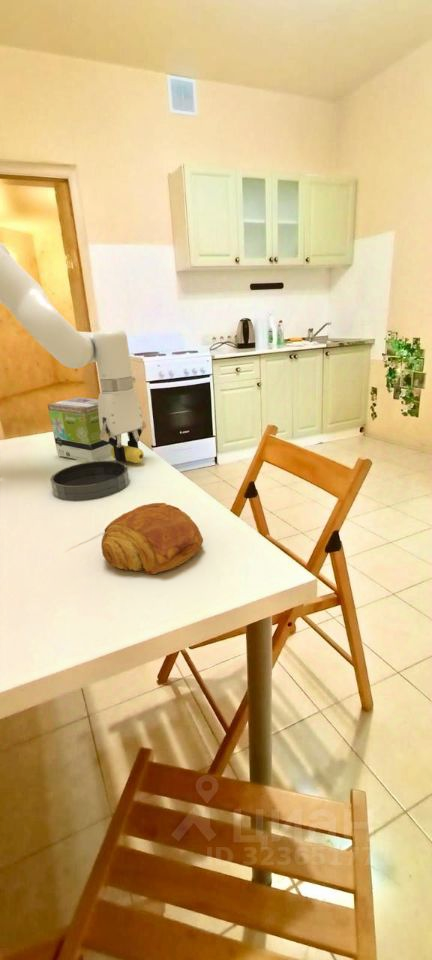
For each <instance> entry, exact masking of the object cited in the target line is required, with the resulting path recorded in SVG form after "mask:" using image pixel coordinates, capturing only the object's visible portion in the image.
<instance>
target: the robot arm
mask: <svg viewBox="0 0 432 960" xmlns="http://www.w3.org/2000/svg"><path fill="white" fill-rule="evenodd" d="M0 303H1V305H3V306H4V307H5V308H6V309H7V310H8V311H9V312H10V313H11V314H12V315H13V316H14V318H15V319H16V320H17V322H19V323H20V324H21V326H22V327H24V328H25V330H26V332H27V333H29V334H30V335H31V337H32V338H34V340H35V341H36V342H37V343H38V344H39V345H40V346H41V347H42V348H43V349H44V350H46V351H47V352H48V353H49V355H51V356H52V357H53V358H54V359H55V360H56V361H58V362H59V363H60V364H61V365H63V366H65V367H67V368H69V369H77V370H78V369H81V368H84V367H85V366H86V365H89V364H93V363H96V365H97V371H98V379H99V385H100V391H101V392H100V393H99V392H98V397H97V399H98V413H99V424H100V430H101V433H100V437H99V438H100V439H101V440H104V441H106V442H108V443H109V444H111V446H113V448H114V454H115V457H114V459H115V462H120V463H123V464H125V463H126V462H127V461H126V458H125V451H124V447H122V446H121V445H122V435H123V434H127V437H128V440H127V446H130V447H135V448H139V441H140V437H141V435H142V432H143V431H144V430H145V429H146V428H147V424H146V422H145V421H144V420H143V411H142V407H141V402H140V399H139V395H138V392H137V389H136V388H135V387H134V383H136V377H134V376H133V373H132V365H131V358H130V357H131V356H130V351H129V343H128V337H127V333H126V332H125V330H122V329H104V330H98V331H80V330H79V331H78V330H77V329H76V328H75V327H74V326H73V325H72V324H71V323H70V322H69V321H68V320H67V319H66V318H65V317H64V316H63V315H62V313H60V312H59V311H58V310H57V309H56V307H55V306H54V305H53V304H52V303H51V301H50V299H49V297H48V296H47V294H46V292H45V290H44V289H43V287H42V285H41V284H40V283H39V282H38V281H37V280H36V279H35V278H33V277H32V276H31V274H29V272H27V271H26V269H24V268H23V267H22V266H21V265H20V264H19V263H18V262H17V261H16V260H15V259H14V258H13V257H12V256H11V254H10V251H9V249H8V248H7V246H5V244H4V243H3V242H2V241H0ZM108 433H110V437H109V436H108Z"/></svg>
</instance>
